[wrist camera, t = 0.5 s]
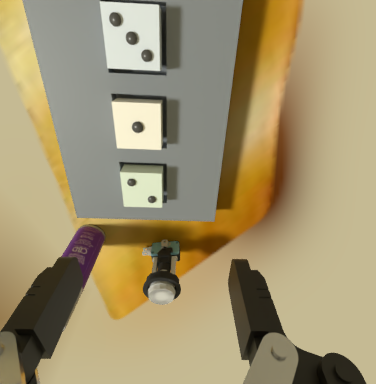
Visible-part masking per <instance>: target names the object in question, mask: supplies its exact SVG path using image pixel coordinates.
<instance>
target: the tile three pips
mask: <svg viewBox="0 0 376 384" xmlns="http://www.w3.org/2000/svg"><path fill="white" fill-rule="evenodd" d="M100 9H101V17H102V26H103V34H104V43H105V51H106V59H107V68H111V69H131V70H151V71H161V70H162V19H161V8H160V6H159V5H154V4H137V3H120V2H103V1H100Z"/></svg>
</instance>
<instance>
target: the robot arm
mask: <svg viewBox="0 0 376 384" xmlns="http://www.w3.org/2000/svg"><path fill="white" fill-rule="evenodd" d="M82 285H83V275H82V272H81V268H80V265H79V262H78V259H77V257H59V258H58V259H57V261H56V263H55V264H54V266H53V267H52V268H51V267H49V268H48V267H47V268H46V269H45V270H44V271H43V272H42V273H41V274H39V275H38V276H37V278H36V279H35V281H34V282H33V284H32V285H31V288H30V289H29V290H28V291H27V293H26V296H24V297H23V299H22V300H21V302H20V303H19V305H18V306H17V308H16V309H15V311H14V312H13V314H12V315H11V317H10V318H9V320H8V322H7V323H6V324H5V326H4V327H3V329H2V330H1V331H0V384H40V381H39V376H38V370H37V366H38V364H39V362H40V359H46V358H47V359H48V358H49V359H50V358H51V356H52V354H53V352H54V349H55V347H56V345H57V343H58V341H59V338H60V336H61V334H62V332H63V329H64V327H65V325H66V322H67V320H68V318H69V316H70V313H71V311H72V309H73V307H74V304H75V302H76V300H77V298H78V295H79V293H80V291H81V288H82ZM228 286H229V293H230V299H231V304H232V310H233V314H234V320H235V326H236V331H237V336H238V342H239V347H240V353H241V357H242V360H249V364H250V369H249V371H248V373H247V376H246V378H245V380H244V382H243V384H366V382H365V380H364V378H363V376H362V374H361V373H360V371H359V370H358V368H357V367H356V366H355V365H354V364H353V363H352V362H351V361H350V360H349V359H347V358H346V357H344V356H342V355H340V354H337V353H328V354H326V355H325V356H324V357H321V356H318V355H315V354H312V353H309V352H307V351H304V350H302V349H300V348H298V347H296V346H295V345H294V344H293V343H292V342H291V341H290V340H289V339H288V338H287V337H286V335H285V333H284V331H283V329H282V326H281V323H280V320H279V317H278V315H277V312H276V309H275V306H274V304H273V300H272V299H271V295H270V292H269V291H268V286H267V284H266V281H265V279H264V277H263V276H262V275H261V274H260V272H258V270H251V269H250V267H249V263H248V260H247V259H232V262H231V268H230V273H229V279H228Z"/></svg>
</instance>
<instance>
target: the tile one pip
mask: <svg viewBox="0 0 376 384" xmlns="http://www.w3.org/2000/svg"><path fill="white" fill-rule="evenodd" d="M112 110H113V119H114V127H115V135H116V144H117V148H121V149H148V150H161V149H162V145H163V105H162V100H152V99H130V98H117V99H115V100H113V101H112Z"/></svg>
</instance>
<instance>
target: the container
mask: <svg viewBox="0 0 376 384" xmlns="http://www.w3.org/2000/svg"><path fill="white" fill-rule="evenodd" d="M104 241H105V234H104V232H103V231H102V230H101V229H100V228H99V227H97V226H94V225H83V226H81V227H80V228H79V229H78V231H77V232H76V234H75V235H74V237H73V239H72V240H71V242H70V243H69V245H68V247H67V248H66V250H65V252H64V253H63V255H62V256H61V257H77V259H78V262H79V265H80V268H81V272H82V275H83V285H82V288H81V291H80V293H79V295H78V298H77V300H76V302H75V304H74V307H73V309H72V311H71V313H70V316H69V318H68V320H67V322H66V325H65V327H64V329H65V328H66V326H67V323H68V321H69V319H70V317H71V315H72V313H73V311H74V309H75V306H76V304H77V302H78V300H79V298H80V296H81V294H82V292H83V289H84V287H85V285H86V282H87V280H88V278H89V275H90V273H91V271H92V269H93V266H94V264H95V262H96V259H97V257H98V255H99V252H100V250H101V248H102V245H103V243H104ZM64 329H63V331H64Z"/></svg>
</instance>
